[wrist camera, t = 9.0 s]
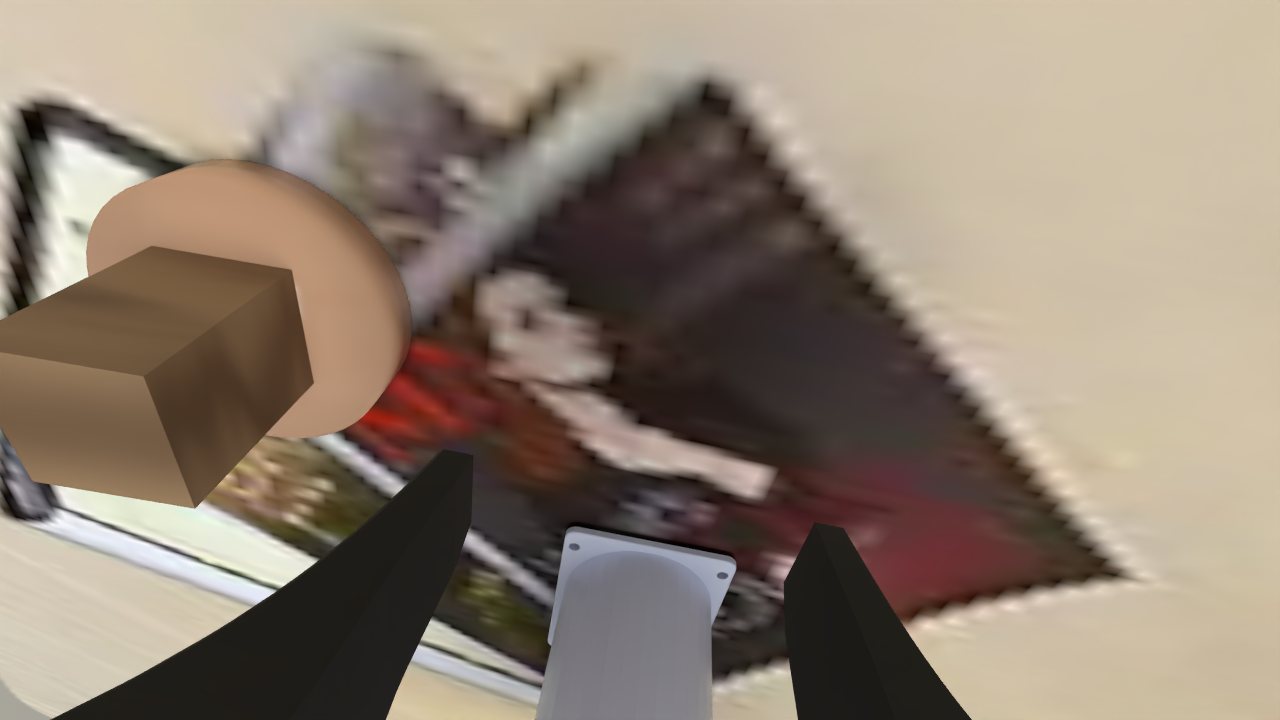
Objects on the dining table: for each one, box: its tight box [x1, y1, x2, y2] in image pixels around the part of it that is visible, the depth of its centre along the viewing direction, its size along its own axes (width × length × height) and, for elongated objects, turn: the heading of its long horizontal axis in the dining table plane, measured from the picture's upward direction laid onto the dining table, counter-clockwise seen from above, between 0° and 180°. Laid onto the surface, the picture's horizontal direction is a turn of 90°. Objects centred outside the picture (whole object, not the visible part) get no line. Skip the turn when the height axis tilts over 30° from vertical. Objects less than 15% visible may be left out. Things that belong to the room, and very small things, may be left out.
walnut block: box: [0, 246, 314, 508], centre depth 18 cm, size 4×4×6 cm
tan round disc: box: [86, 159, 412, 438], centre depth 21 cm, size 10×10×2 cm
